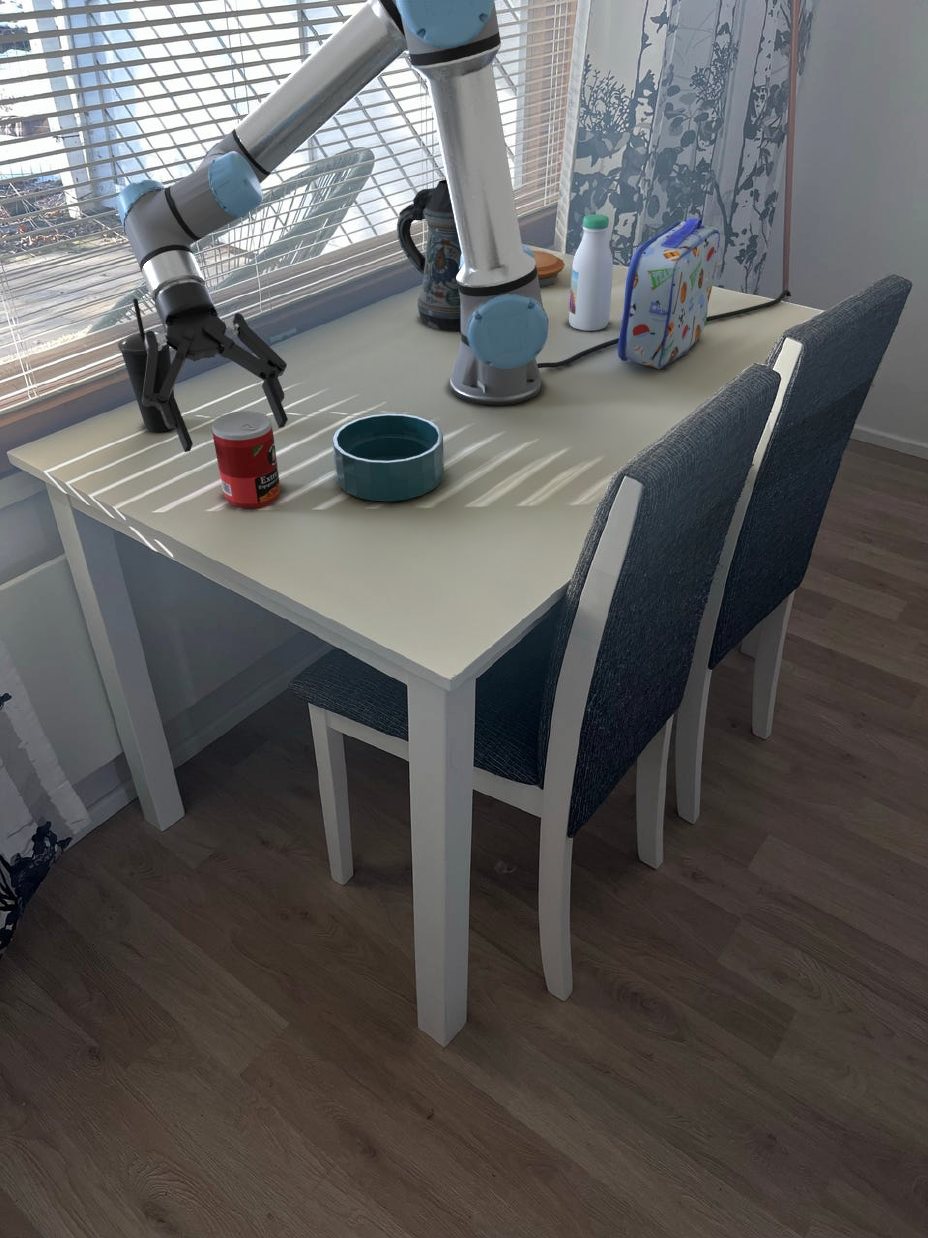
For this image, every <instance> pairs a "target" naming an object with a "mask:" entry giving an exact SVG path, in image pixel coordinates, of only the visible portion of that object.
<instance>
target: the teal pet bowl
mask: <svg viewBox="0 0 928 1238" xmlns="http://www.w3.org/2000/svg"><path fill="white" fill-rule="evenodd" d="M332 449H333V457H334V468H335V477H336V481H337V485H338V486H339V487H340V488H341V489H342V490H343V491H344V492H345V493H347V494H350V495H351V496H354V497H356V498H359V499H364V500H368V501H373V502H398V501H404V500H405V501H406V500H410V499H413V498H417V497H420V496H424V495H425V494H427V493H429V492H431V491H432V490H434V489H436V488H437V487H438V486H439V485H440V483H441V482H442V481H443V479H444V474H445V458H444V434H443V432H442V430H441V428H440V427H439V426H438V425H437V424H435V423H434V422H433V421H431V420H428V419H425V418H423V417H421V416H417V415H411V414H405V413H381V414H372V415H367V416H363V417H359V418H356V419H353V420H351V421H350V422H347V423H344V424H343V425H342V426H340V428H338V429H337V430H335V433H334V435H333V437H332Z"/></svg>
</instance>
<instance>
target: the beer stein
mask: <svg viewBox="0 0 928 1238" xmlns="http://www.w3.org/2000/svg"><path fill="white" fill-rule="evenodd" d="M424 220H425V221H426V223H427V236H426V237H427V238H426V248H425V256H424V255H423V253H422V252H421V251H420V250H419V249H418V247H417V246H416V243H415V242H414V239H413V238H412V235H411V227H412V224H413V222H414V221H416V222H417V221H419V222H421V221H424ZM396 235H397V240H398V243H399V245H400V248H401V249H402V251H403V253H404V255H405V256H406V258H407V259H408V261H409V262H410V263H411V264H412V265H413V267H414V268H415V269H416V270H417V271H418V272H419V273H420V274H422V275H423V280H422V285H421V289H420V293H419V296H418V299H417V310H418V313H419V317H420V320H421V323H422V324H424V325H425V326H427V327H428V328H432V329H436V330H438V331H446V332H461V299H460V294H459V289H458V284H457V279H456V277H457V275H458V273H459V271H460V270H459V266H460V260H461V254H462V252H461V247H460V242H459V237H458V232H457V227H456V222H455V217H454V212H453V207H452V202H451V197H450V193H449V188H448V183H447V179H441V180H439V181H438V183H437V185H436V186H435V187H432V188H423V189H421V190H418V192H417V193H416V194H415V196H414V198H413V199H412V203H410V204H409V205H407V206H405V207H404V208H403V209H401V211H400V212H399V214H398V219H397V223H396Z"/></svg>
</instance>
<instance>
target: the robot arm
mask: <svg viewBox="0 0 928 1238" xmlns="http://www.w3.org/2000/svg"><path fill="white" fill-rule="evenodd" d="M501 47H502V41H501V34H500V27H499V21H498V15H497V10H496V3H495V0H367V1H365V3H364V4H363V5H362V6H361V7H359V8H358V9H357V11H355V12H354V13H353V14H352V15H351V16H350V17H349V18H348V19H347V20H346V21H344V23H343V24H342V25H341V26H340V27H339V28H338V29H336V30H335V32H334V33H333V34H332V35H330V36H329V37H328V38H327V39H326V40H325V41H324V42H323V43H322V44H321V45H320V46H319V47H318V48H317V49H316V50H314V51H313V52H312V53H311V55H310V56H308V57H307V59H305V60H304V61H303V62H302V63H301V64H300V65H299V66H298V67H296V69H294V70H293V71H292V73H291V74H289V75H288V76H287V77H286V78H285V79H284V80H283V81H282V82H281V83H280V84H279V85H278V86H277V87H276V88H275V89H273V91H272V92H271V93H270V94H268V95H267V96H266V97H265V98H264V99H263V100H262V101H261V102H260V103H259V104H258V105H257V106H256V107H255V108H254V109H253V110H252V111H251V112H249V114H248V115H246V116H245V117H244V118H243V119H242V120H241V121H240V122H239V123H238V124H237V125H236V126H235V128H234V129H233V130H231V131H230V132H229V133H227V135H225V137H224V138H222V139H221V140H220V141H219V142H217V143H215V144H214V145H213V146H211V148H209V150H208V151H207V152H206V153H205V156H204V158H203V160H202V161H201V162H200V164H199V165H198V166H197V167H196V169H195V170H194V171H193V172H191V173H190V174H188V175H186V176H185V177H183V178H182V179H180V180H178V181H177V182H175V183H173V184H171V185H169V186H166V185H165V184H163V182H161V181H158V180H156V179H150V178H145V179H142V180H140V181H139V182H135V181H134V182H133V181H132V182H131V183H129V184H128V185H126V186H124V187H123V188H122V189H121V190H120V191H119V193H118V195H117V197H116V202H115V203H116V206H115V207H116V210H117V213H118V216H119V218H120V222H121V226H122V231H123V233H124V236H126V239H127V240H128V243H129V245H130V247H131V251H132V253H133V255H134V258H135V259H136V262H137V265H138V267H139V269H140V272H141V274H142V276H143V279H144V281H145V285H146V286H147V289H148V292H149V294H150V298H151V299H152V301H153V302H154V307H155V310H156V313H157V315H158V317H159V320H160V322H161V325H162V327H163V329H164V332H160V333H159V332H158V333H159V334H155V333H154V332H155V331H153V330H147V332H146V336H145V347H146V351H147V354H148V357H147V365H146V372H145V380H144V388H143V396H142V404H143V406H145V407H149V406H156V407H157V409H158V410H160V411H161V414H162V416H163V419H164V421H165V424H166V426H167V427H168V428H169V429H171V430H173V429H174V430H175V431H176V434H177V437H178V439H179V441H180V444H181V446H182V450H183V451H184V453H188V452H191V451H192V447H193V441H192V438H191V435H190V433H189V430H188V428H187V425H186V423H185V420H184V418H183V415H182V413H181V411H180V408H179V406H178V403H177V400H176V398H175V399H171V400H169V397H170V395H171V392H172V390H173V388H175V385H176V383H177V381H178V379H179V376H180V373H181V370H182V368H183V367H184V364H185V362H186V360H189V361H192V362H197V361H198V362H199V361H200V360H203V359H210V358H215V357H216V356H217V355H219V356H221V357H222V358H224V359H229V360H230V361H232V362H234V363H235V364H237V365H238V366H240V367H241V368H243V369H245V370H246V371H248V372H249V373H251V374H252V375H254V376H256V377H257V378H259V379H261V381H263V382H262V385H261V387H262V391H263V392H264V395H265V397H266V400H267V402H268V405H269V407H270V410H271V412H272V415H273V417H274V420H275V422H276V424H277V427H278V429H281V428H284V427H285V426H286V424H287V422H288V421H289V419H288V416H287V413H286V410H285V408H284V406H283V403H282V402H283V401H284V399H285V392H284V389H283V387H282V385H281V382H280V379H279V377H281V376H283V375H284V372H285V371H286V369H287V365H288V364H287V362H286V361H285V360H284V359H283V358H282V357H281V356H279V355H278V353H277V352H275V350H273V348H272V347H270V346H269V344H267V343H266V342H265V341H264V340H263V339H262V338H261V337H260V336H259V335H258V334H257V333H256V332H255V331H254V330H253V329H251V327H250V326H249V325H248V323H247V321H246V319H245V317H244V316H243V314H241V313H239V312H237V313H235V314H234V316H233V317H232V318H229V319H225V320H223V319H222V318H221V317H220V316H219V315H218V311H217V308H216V306H215V303H214V301H213V299H212V296H211V294H210V291H209V289H208V287H207V286H206V281H205V279H204V276H203V274H202V272H201V270H200V267H199V264H198V262H197V260H196V258H195V254H194V252H193V249H192V244H194V243H196V242H198V241H200V240H202V239H203V238H205V237H206V236H208V235H210V234H212V233H214V232H215V231H217V230H219V229H221V228H223V227H225V226H227V225H228V224H231V223H232V222H235V221H237V220H238V219H240V218H244V217H246V216H248V213H251V212H252V211H253V210H255V209H257V208H258V207H259V206H260V205H261V204H262V203H263V201H264V194H263V188H262V186H261V184H262V183H263V182H264V181H265V180H266V179H267V178H268V177H269V176H270V175H271V174H272V173H273V172H274V171H275V170H276V169H278V167H280V166H281V165H282V164H283V163H284V162H285V161H287V159H288V158H290V157H291V156H292V155H293V154H294V153H295V152H296V151H298V149H299V148H301V147H302V146H303V145H304V144H305V143H306V142H307V141H308V140H309V139H311V137H313V136H314V135H315V134H317V132H318V131H320V129H322V128H323V127H324V126H325V125H326V124H327V123H329V121H330V120H332V118H333V117H335V116H336V115H337V114H338V113H339V112H340V111H341V110H342V109H344V108H345V107H346V106H347V105H348V104H349V103H350V102H351V101H352V100H353V99H355V98H356V97H357V96H358V95H359V94H360V93H362V92H363V90H365V89H366V88H367V87H368V86H369V85H371V83H372V82H373V81H375V80H376V79H377V78H378V77H379V76H380V75H381V74H383V72H384V71H385V70H387V69H388V68H389V67H391V65H392V64H393V63H394V62H396V61H397V60H398V59H399V58H400V57H401V56H402V55H404V54H405V53H408V55H409V60H410V65H411V69H413V70H415V71H416V72H417V73H419V74H420V75H421V76H422V77H424V78H425V80H426V83H427V89H428V94H429V99H430V103H431V108H432V109H431V110H432V114H433V119H434V123H435V128H436V133H437V138H438V143H439V148H440V153H441V157H442V162H443V168H444V173H445V177H446V180H447V183H448V188H449V193H450V197H451V202H452V207H453V212H454V217H455V222H456V227H457V232H458V237H459V242H460V247H461V252H462V254H461V260H460V266H459V270H460V271H459V273H458V275H457V277H456V279H457V284H458V289H459V294H460V299H461V331H460V344H459V348H458V351H457V354H456V356H455V360H454V363H453V367H452V370H451V373H450V380H449V381H450V384H449V385H450V386H449V387H450V391H451V392H452V393H453V395H455V396H456V397H457V398H459V399H461V400H464V401H466V402H468V403H472V404H476V405H484V406H508V405H515V404H520V403H523V402H526V401H528V400H531V399H533V398H534V397H536V396H537V395H538V394H539V393H540V391H541V387H542V386H541V385H542V384H541V383H542V378H541V372H540V369H547V368H550V369H552V368H553V369H554V368H561V367H565V366H567V365H570V364H571V363H573V362H575V361H577V360H580V359H582V358H584V357H586V356H588V355H591V354H593V353H596V352H597V351H600V350H603V349H606V348H608V347H611V346H613V345H618V341H619V337H617V338H614V339H611V340H609V341H605V342H602V343H599V344H597V345H595V346H592V347H590V348H587V349H585V350H582V351H580V352H578V353H576V354H574V355H572V356H570V357H568V358H565V359H563V360H560V361H555V362H537V358H536V357H538V355H539V354H540V353H541V352H542V350H543V349H544V347H545V345H546V342H547V339H548V335H549V316H548V314H547V312H546V310H545V308H544V303H543V299H542V292H541V287H540V286H539V280H538V274H537V268H536V261H535V259H534V253H533V251H534V250H532V249H531V248H529V247H527V246H523V242H522V237H521V230H520V223H519V218H518V212H517V206H516V200H515V194H514V188H513V181H512V176H511V170H510V163H509V158H508V152H507V145H506V139H505V134H504V127H503V122H502V114H501V110H500V109H501V108H500V103H499V96H498V92H497V91H498V90H497V86H496V85H497V84H496V78H495V73H494V66H493V62H494V60H495V58H496V56H497V54H498V53H499V51H500V49H501ZM785 297H792V294H791V291H790V290H788V289H784V290H783V291H782V292H781V294H779V296H778V297H777V298H775V299H773V300H770V301H767V302H764V303H760V304H757V305H752V306H749V307H746V308H741V309H738V310H737V309H736V310H732V311H729V312H724V313H719V314H714V315H709V316H707V318H706V323H707V322H711V321H717V320H722V319H725V318H731V317H734V316H739V315H744V314H747V313H750V312H754V311H758V310H762V309H765V308H769V307H772V306H775V305H777V304H779V303H780V302H782V300H783V299H784V298H785ZM226 331H227V332H230V333H231V334H232V335H233V336H237V338H238V339H239V341H240V342H241V343H242V344H243V345H245V347H246V348H248V350H250V352H249V351H248V350H246V349H244V347H243V348H242V347H241V346H240V345H239V344H237V343H235V341H234V340H233V339H232V338H230V337H228V336H227V335H226ZM164 343H166V344H167V345H169V347H170V349H171V348H172V349H173V350H174V351H176V352H175V355H174V357H173V360H172V361H171V367H170V369H169V371H168V374H167V376H166V379H165V381H164V383H163V386H162V388H161V390H160V393H159V394H158V393H153V390H154V382H155V374H156V366H157V357H158V351H160V350H161V349H162V346H163V344H164ZM172 428H173V429H172Z"/></svg>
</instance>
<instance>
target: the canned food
mask: <svg viewBox="0 0 928 1238" xmlns="http://www.w3.org/2000/svg"><path fill="white" fill-rule="evenodd" d="M211 432H212V433H211V434H212V440H213V445H214V450H215V456H216V461H217V466H218V471H219V472H218V473H219V477H220V483H221V487H222V493H223V496H224V498H225V499H226V501H227V502H228V503H229V505H232V506H234V507H237V508H241V509H258V508H262V507H265V506H268V505H270V504H272V503H274V502H275V501H276V500H277V499H278V498H279V497H280V492H281V482H280V476H279V475H280V473H279V467H278V460H277V452H276V444H275V437H274V431H273V423H272V420H271V418H270V417H269V416H268V415H267V414H264V413H261V412H257V411H249V410H248V411H247V410H246V411H245V410H241V411H233V412H229V413H225V414H222V415H220V416H218V417H217V418H216V419H214V420H213V421H212V423H211Z"/></svg>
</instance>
